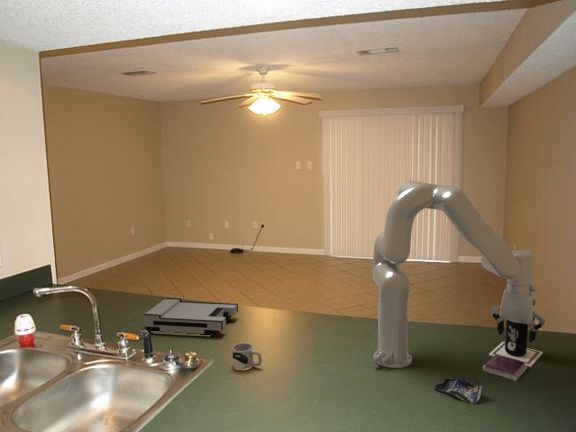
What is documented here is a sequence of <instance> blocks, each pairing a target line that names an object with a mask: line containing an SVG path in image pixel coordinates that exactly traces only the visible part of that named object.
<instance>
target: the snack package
mask: <svg viewBox="0 0 576 432" xmlns="http://www.w3.org/2000/svg"><path fill="white" fill-rule="evenodd" d="M482 389H483V382H482V381H478V382H473V381H470V380H469V379H464V378H462V377H458V376H452V377H449V378H448V377H447V378H445V380H444V382H442V383H437V384H435V385H434V390H435V391H439V392H442V393H445V394H449V395H452V396H453V397H454V396H455V397H457V398H458V399H459V400H462V401H465V402H466V400H465V399H464V398H462V397H461V396H460V395H459V393H460V394H461V395H463V396H464V397H466V398H467V400H468V401H469V402H470V403H471V404H477V402H478V401H479V399H480V398H481V393H482ZM455 392H457V393H458V394H457V393H455Z"/></svg>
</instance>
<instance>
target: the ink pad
mask: <svg viewBox="0 0 576 432" xmlns="http://www.w3.org/2000/svg"><path fill="white" fill-rule="evenodd" d="M524 364H525V363H524V362H521V361H517V360H513V359H510V358H506V357H503V356H499V355H495V356H491V358H490V359H488V361H487V362H486V363H485V364H484V365H483V366H482V371H484V372H486V373H490V374H493V375H496V376H500V377H503V378H506V379H509V380H513V381H515V382H516V381H518V380H519V378H520V377H521V376H522V375H523V374H524V373H525V372H526V370H527V369H528V366H527V365H524Z"/></svg>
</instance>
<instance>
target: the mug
mask: <svg viewBox="0 0 576 432" xmlns="http://www.w3.org/2000/svg"><path fill="white" fill-rule="evenodd" d="M231 349H232V367H233V366H234V367H235V368H238V369H245V368H249V367H251V366H252V367H253V368H254V367H261V366H262V361H263V360H262V353H261V352H259V351H257V350H255V349H254V347H253V345H252V344H251V343H248V342H240V343H236V344H234V345H233V346H232V348H231ZM254 355H255V356H257V357H258V361H257V362H256V361H254Z"/></svg>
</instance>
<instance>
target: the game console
mask: <svg viewBox="0 0 576 432" xmlns="http://www.w3.org/2000/svg"><path fill="white" fill-rule="evenodd" d="M238 312H239V303H228V302H225V303H224V302H209V301H208V302H207V301H206V302H205V301H203V302H202V301H185V300H184V301H183V299H182V298H175V297H166V298H165V299H163V300H161V302H159V303H157V304H156V305H155V306H153V307H152V308H151V309H149V310H148V311H146V312H145V313H143V314H142V322H143V323H142V324H143V327H145V331H150V332H151V331H160V332H175V333H187V334H200V335H211V334H213V335H218V333H219V332H220V331H223V330H224V328H225V327H226V326H227V322H229V320H230V319H231V318H232V317H235V316H236V315H237V313H238ZM150 332H149V333H150Z"/></svg>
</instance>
